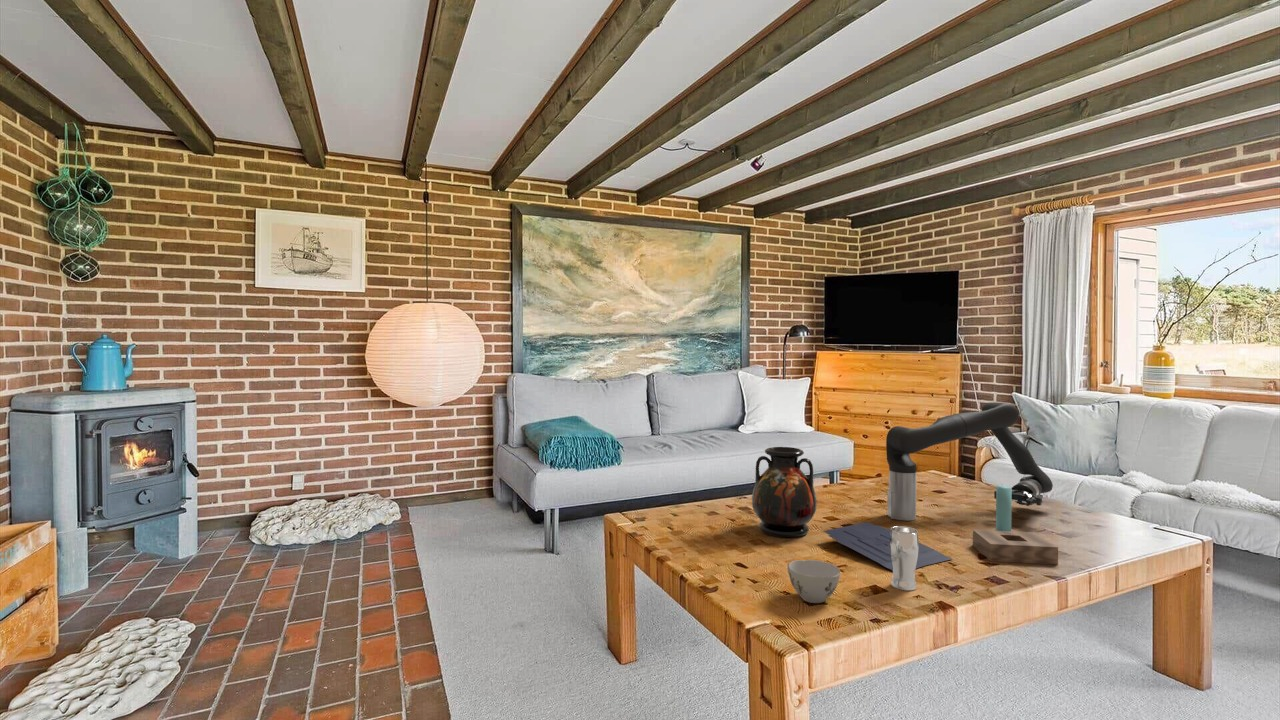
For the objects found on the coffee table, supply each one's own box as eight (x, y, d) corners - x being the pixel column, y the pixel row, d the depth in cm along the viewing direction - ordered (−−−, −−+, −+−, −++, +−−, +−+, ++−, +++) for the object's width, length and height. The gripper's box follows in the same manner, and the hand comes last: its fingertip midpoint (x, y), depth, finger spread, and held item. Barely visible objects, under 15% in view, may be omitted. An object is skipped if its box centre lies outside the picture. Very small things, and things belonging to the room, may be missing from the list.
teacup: (851, 602, 150) (851, 570, 149) (815, 614, 143) (815, 580, 143) (805, 581, 162) (805, 552, 162) (770, 591, 156) (770, 561, 156)
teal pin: (998, 536, 200) (999, 488, 200) (993, 532, 205) (994, 485, 204) (1013, 537, 200) (1014, 488, 199) (1007, 533, 204) (1008, 485, 204)
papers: (870, 528, 205) (871, 518, 205) (952, 567, 179) (953, 556, 179) (817, 540, 194) (818, 529, 193) (897, 583, 168) (898, 570, 167)
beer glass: (910, 580, 163) (910, 525, 163) (923, 591, 156) (923, 533, 156) (884, 581, 163) (885, 525, 162) (896, 591, 156) (897, 533, 155)
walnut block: (990, 560, 178) (990, 543, 178) (972, 545, 192) (972, 529, 192) (1057, 564, 175) (1058, 547, 175) (1034, 548, 189) (1035, 532, 189)
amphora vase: (748, 538, 199) (748, 453, 199) (755, 520, 220) (755, 443, 219) (816, 544, 193) (816, 456, 192) (817, 525, 214) (817, 446, 213)
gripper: (1002, 479, 226) (990, 486, 215) (1048, 485, 216) (1037, 493, 205) (1002, 499, 227) (990, 507, 215) (1047, 506, 217) (1037, 515, 205)
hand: (1013, 500), depth 210 cm, fingers open, 8 cm apart
